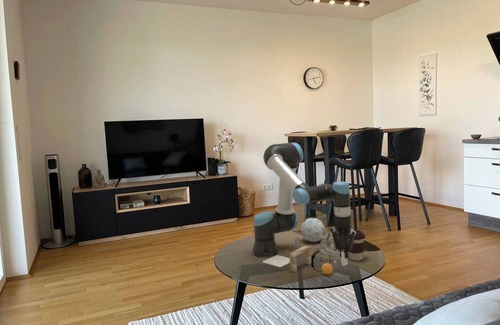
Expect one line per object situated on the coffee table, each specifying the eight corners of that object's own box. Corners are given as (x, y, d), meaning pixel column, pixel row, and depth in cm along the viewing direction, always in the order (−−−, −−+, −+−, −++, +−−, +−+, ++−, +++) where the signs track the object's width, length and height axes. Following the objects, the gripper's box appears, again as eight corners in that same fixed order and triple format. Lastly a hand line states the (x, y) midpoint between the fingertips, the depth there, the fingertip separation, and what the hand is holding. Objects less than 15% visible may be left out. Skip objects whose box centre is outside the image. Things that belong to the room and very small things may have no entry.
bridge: (289, 270, 188) (289, 253, 187) (306, 262, 199) (305, 245, 198) (294, 272, 186) (293, 254, 185) (311, 263, 197) (310, 246, 196)
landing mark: (261, 262, 203) (261, 261, 203) (277, 255, 212) (277, 255, 212) (280, 267, 194) (280, 267, 194) (295, 260, 203) (295, 259, 203)
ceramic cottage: (335, 258, 202) (335, 230, 202) (313, 252, 215) (313, 226, 215) (354, 252, 211) (353, 226, 211) (331, 247, 225) (331, 222, 224)
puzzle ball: (325, 245, 225) (324, 221, 223) (300, 245, 227) (299, 221, 226) (324, 237, 240) (323, 215, 238) (301, 237, 242) (300, 215, 241)
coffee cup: (366, 262, 194) (365, 234, 193) (347, 261, 196) (346, 234, 195) (364, 255, 204) (364, 228, 202) (346, 255, 206) (345, 228, 204)
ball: (319, 274, 181) (319, 263, 181) (325, 271, 185) (325, 260, 185) (329, 277, 177) (328, 266, 177) (335, 273, 181) (334, 262, 181)
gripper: (325, 215, 174) (328, 264, 176) (351, 218, 165) (353, 270, 166) (334, 212, 179) (336, 259, 181) (359, 215, 170) (361, 265, 172)
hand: (344, 264), depth 174 cm, fingers closed
